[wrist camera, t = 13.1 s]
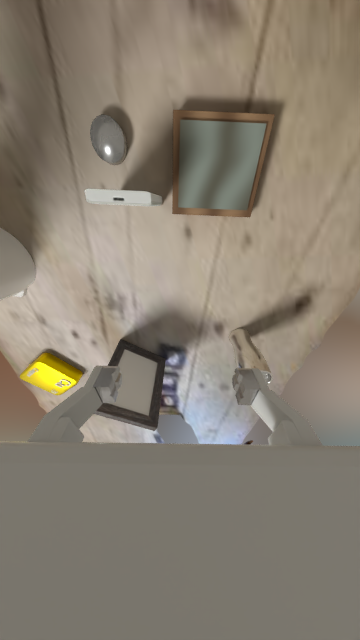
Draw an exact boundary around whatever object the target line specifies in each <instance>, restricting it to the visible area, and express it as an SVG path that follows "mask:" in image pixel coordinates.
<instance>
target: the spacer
mask: <svg viewBox="0 0 360 640" xmlns="http://www.w3.org/2000/svg"><path fill="white" fill-rule="evenodd" d="M90 136H91V142H92V145H93V147H94V149H95V151H96V153H97V154H98V156H99V157H100V158H101V159H103V160H104V161H106V162H108V163H110V164H112V165H118V164H121V163H122V162H123V161H124V160H125V158H126V155H127V148H128V147H127V140H126V137H125V134H124V132H123V130H122V129H121V127H120V126H119V125H118V124H117V122H116V121H115V120H114V119H113V118H111V117H110V116H108V115H99V116H97V117H96V118H95V119H94V120H93V122H92V125H91V130H90Z"/></svg>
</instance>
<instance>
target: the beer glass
mask: <svg viewBox="0 0 360 640" xmlns="http://www.w3.org/2000/svg"><path fill="white" fill-rule="evenodd" d="M229 341H230V342H231V344H232V346H233V348H234V357H235V363H236V367H237V368H258V369H259V370H260V371H261V373H262V375H263V377H264V379H265V381H266V384H267V385H268V384H269V383H270V382H271V381H272V379H273V375H272V374H271V371H270V369H269V366H268V364H267V362H266V360H265V358H264V356H263V355H262V354H261V352H260V351H259V350H258V348H257V347H256V346H255V345H254V344H253V342H252V340H251V337H250V333H249V331H248V330H246V329H243V328H239V329H235V330H233V331H232V332H231V333H230V335H229Z"/></svg>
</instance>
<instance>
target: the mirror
mask: <svg viewBox="0 0 360 640" xmlns="http://www.w3.org/2000/svg"><path fill="white" fill-rule="evenodd" d="M274 116H275V114H254V113H233V112H211V111H189V110H173V214H187V215H210V216H233V217H250V216H251V212H252V208H253V203H254V199H255V195H256V191H257V187H258V182H259V178H260V174H261V170H262V166H263V162H264V157H265V153H266V149H267V145H268V141H269V137H270V132H271V128H272V124H273V120H274Z"/></svg>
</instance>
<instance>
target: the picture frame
mask: <svg viewBox="0 0 360 640" xmlns="http://www.w3.org/2000/svg"><path fill="white" fill-rule="evenodd" d="M165 360H166V359H165V358H162V357H160V356H158V355H155V354H153V353H151V352H149V351H146V350H144V349H142V348H139V347H137V346H135V345H133V344H130V343H128V342H126V341H123V340H120V341H119V343H118V345H117V347H116V350H115V352H114V354H113V356H112V358H111V360H110V362H109V364H108V366H119V368H120V371H119V372H120V373H121V374H122V384H121V387H120V388H119V389H118V390H117V391H118V396H117V399H116V402H115V403H102V405H101V406H100V407H99V408H98V409H97V410H96V411H95V412H94V413H93V414H97V415H100V416H104V417H107V418H111V419H114V420H118V421H121V422H125V423H128V424H132V425H135V426H139V427H143V428H146V429H150V430H153V431H155V430H156V429H157V426H158V418H159V410H160V402H161V393H162V385H163V377H164V368H165Z"/></svg>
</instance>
